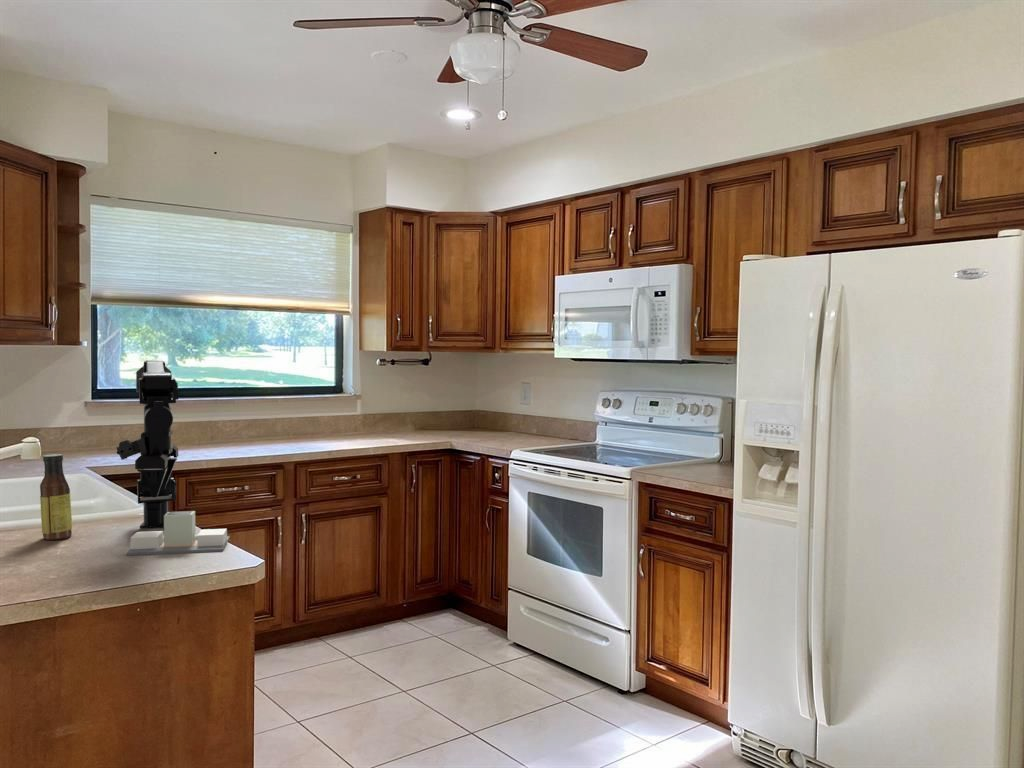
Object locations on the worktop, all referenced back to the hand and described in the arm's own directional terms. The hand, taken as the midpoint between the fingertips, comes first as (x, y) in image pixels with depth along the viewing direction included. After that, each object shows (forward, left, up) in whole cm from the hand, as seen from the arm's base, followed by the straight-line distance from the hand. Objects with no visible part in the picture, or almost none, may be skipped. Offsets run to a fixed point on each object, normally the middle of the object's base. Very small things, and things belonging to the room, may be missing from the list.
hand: (158, 493), depth 185 cm
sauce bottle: (-8, -24, -12) cm, 28 cm away
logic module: (+6, +6, -11) cm, 14 cm away
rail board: (+6, +6, -11) cm, 14 cm away
